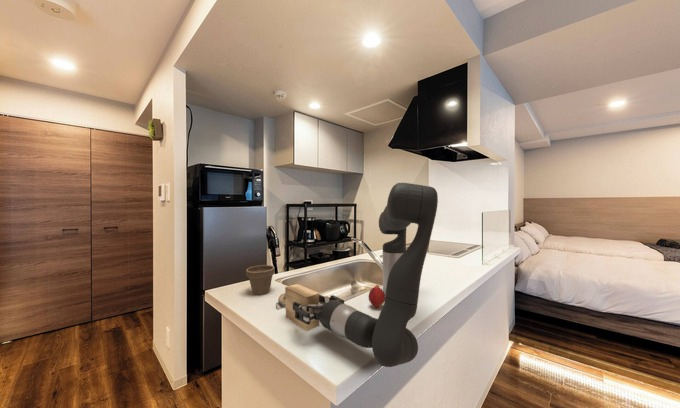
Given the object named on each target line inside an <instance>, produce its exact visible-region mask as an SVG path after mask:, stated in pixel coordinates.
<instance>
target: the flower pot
mask: <svg viewBox="0 0 680 408" xmlns="http://www.w3.org/2000/svg"><path fill="white" fill-rule="evenodd" d="M275 273H276V272H275V266H273V265H268V264H262V265H261V264H260V265H255V266H250V267H248V268H247V269H246V270H245V274H246V275H245V276H246V277H247V278H248V280H249V284H250V288H251V290H252V293H253V295H256V296H261V295H265V294H268V293H269V292H270V290H271V286H272V279H273V276H274V274H275Z"/></svg>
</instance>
